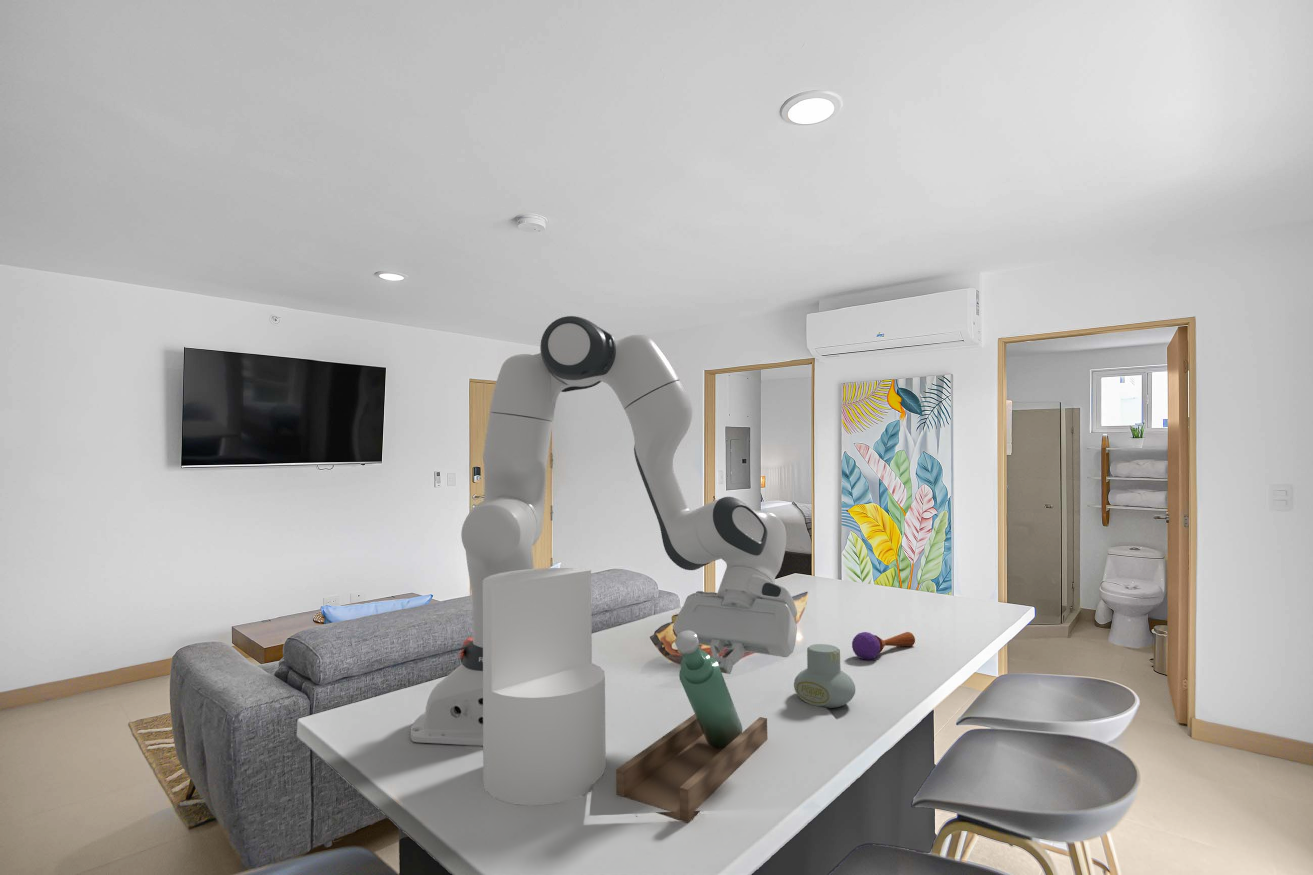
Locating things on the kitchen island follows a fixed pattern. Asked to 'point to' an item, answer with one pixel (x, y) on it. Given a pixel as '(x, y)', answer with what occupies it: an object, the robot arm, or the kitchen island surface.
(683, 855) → the kitchen island surface
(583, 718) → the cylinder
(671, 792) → the u rest
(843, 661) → the kitchen island surface
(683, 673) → the bottle
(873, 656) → the purple maraca
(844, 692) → the air freshener
